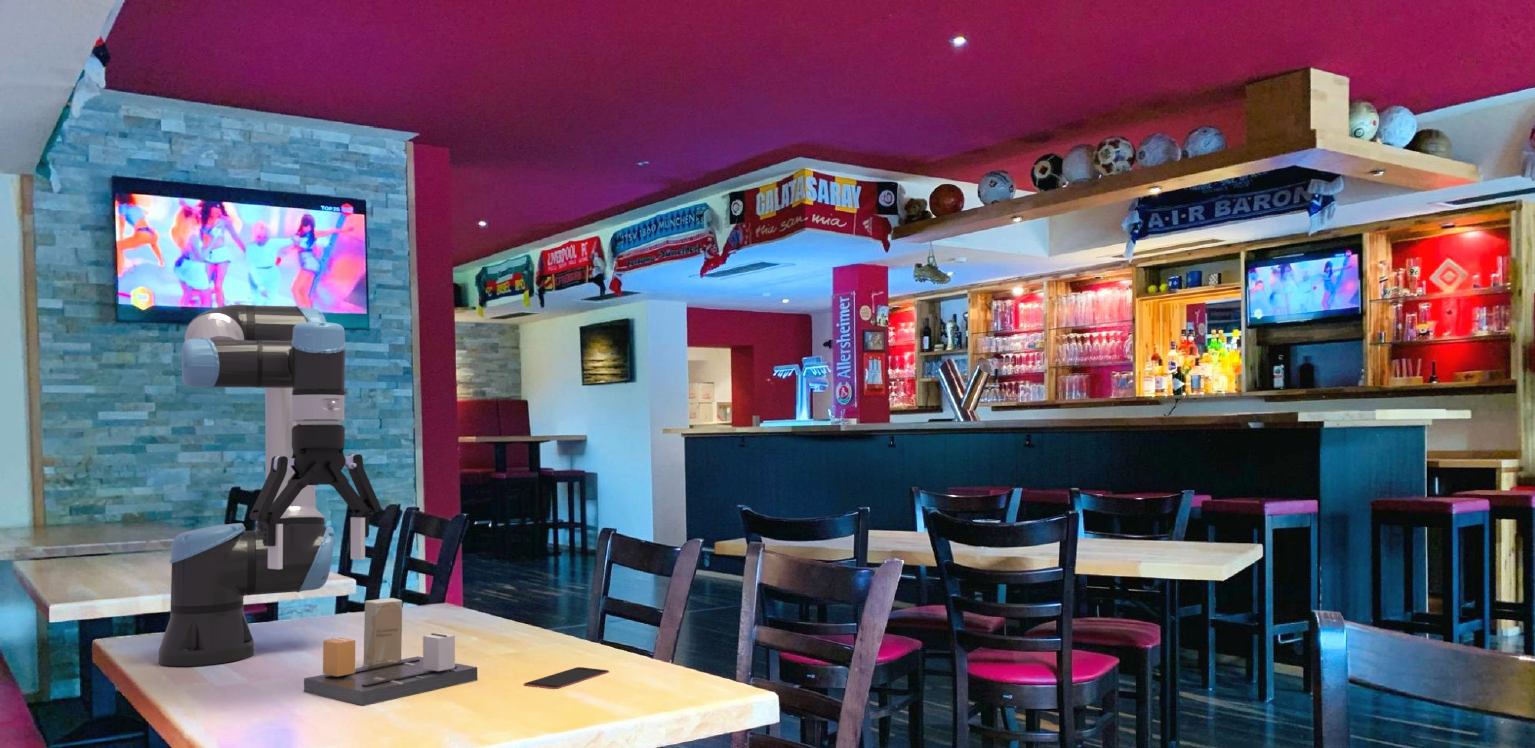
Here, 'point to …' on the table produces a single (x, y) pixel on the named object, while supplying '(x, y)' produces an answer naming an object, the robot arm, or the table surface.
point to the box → (382, 631)
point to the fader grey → (438, 651)
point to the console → (387, 681)
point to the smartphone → (566, 678)
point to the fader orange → (338, 656)
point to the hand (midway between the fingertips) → (317, 564)
